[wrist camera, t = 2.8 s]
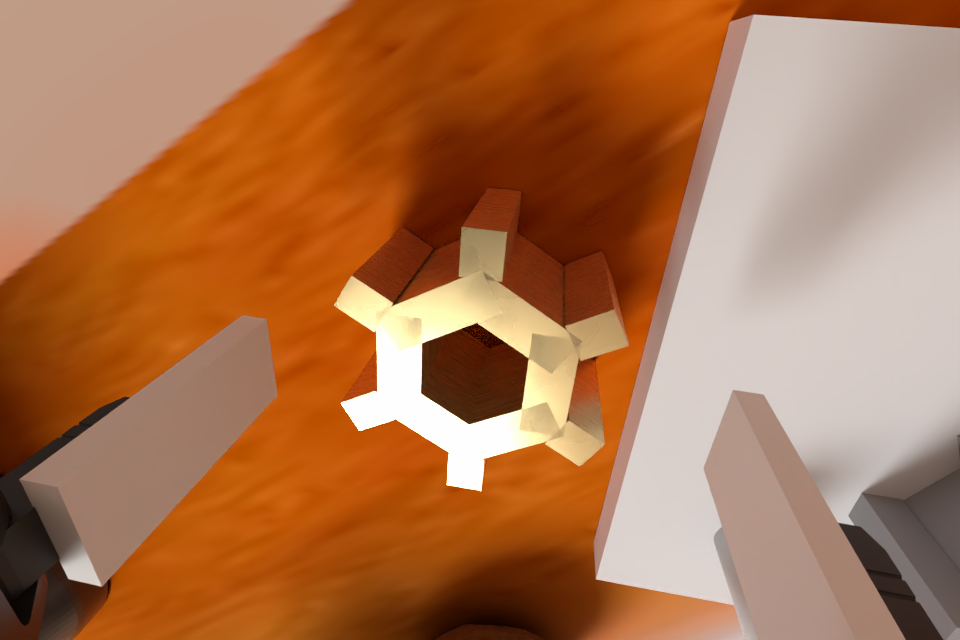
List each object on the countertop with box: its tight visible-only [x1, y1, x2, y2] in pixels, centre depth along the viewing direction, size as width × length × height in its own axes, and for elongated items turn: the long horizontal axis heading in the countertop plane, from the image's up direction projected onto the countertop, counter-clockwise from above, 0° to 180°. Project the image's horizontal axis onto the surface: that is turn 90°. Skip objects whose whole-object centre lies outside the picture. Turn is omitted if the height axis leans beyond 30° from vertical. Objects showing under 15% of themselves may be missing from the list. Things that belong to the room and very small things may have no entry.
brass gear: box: [334, 187, 629, 491], centre depth 17 cm, size 9×9×5 cm
